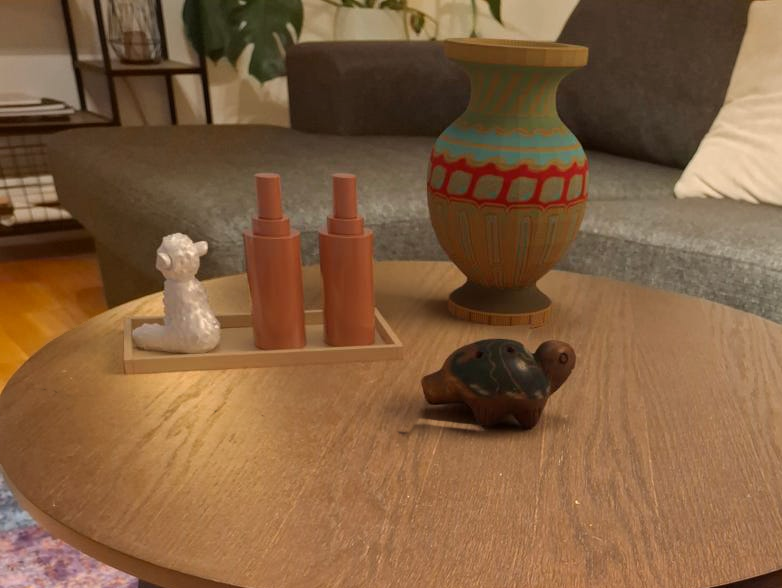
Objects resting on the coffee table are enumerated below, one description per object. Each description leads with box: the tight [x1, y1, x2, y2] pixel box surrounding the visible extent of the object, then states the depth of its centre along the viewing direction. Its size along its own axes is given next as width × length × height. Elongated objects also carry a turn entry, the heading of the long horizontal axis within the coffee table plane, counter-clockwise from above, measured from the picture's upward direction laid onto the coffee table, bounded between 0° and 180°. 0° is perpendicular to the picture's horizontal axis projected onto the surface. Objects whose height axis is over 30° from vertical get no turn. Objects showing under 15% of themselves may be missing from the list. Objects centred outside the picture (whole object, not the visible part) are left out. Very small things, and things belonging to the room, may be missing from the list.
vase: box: [426, 37, 590, 329], centre depth 110 cm, size 20×20×30 cm
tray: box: [122, 307, 405, 376], centre depth 103 cm, size 30×15×2 cm, turn 107°
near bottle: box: [242, 172, 307, 351], centre depth 98 cm, size 6×6×18 cm
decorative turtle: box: [420, 338, 577, 430], centre depth 88 cm, size 10×15×8 cm, turn 103°
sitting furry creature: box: [132, 232, 221, 354], centre depth 98 cm, size 10×9×12 cm
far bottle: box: [317, 172, 376, 347], centre depth 101 cm, size 6×6×18 cm
